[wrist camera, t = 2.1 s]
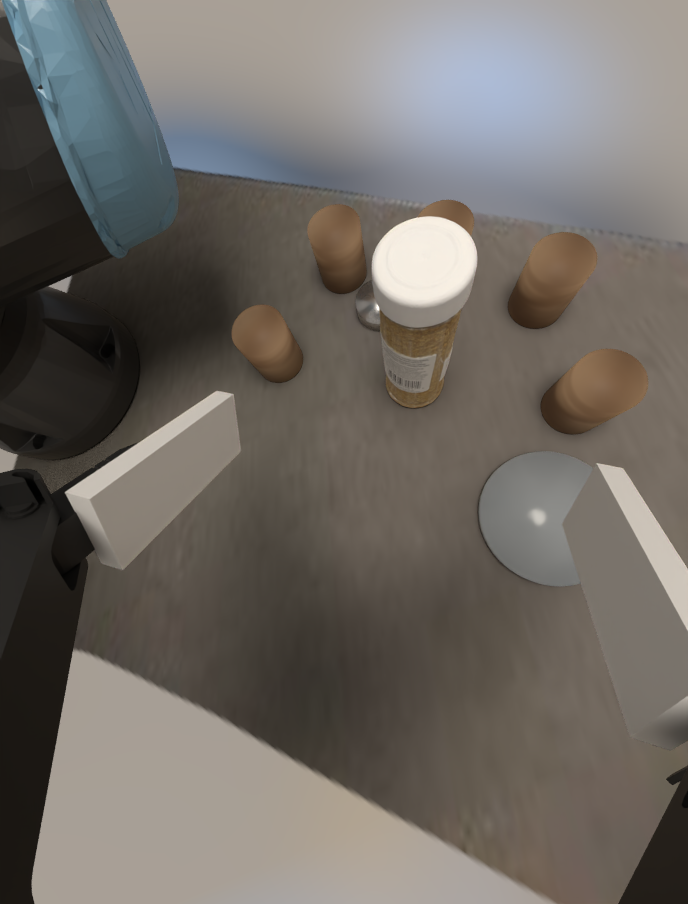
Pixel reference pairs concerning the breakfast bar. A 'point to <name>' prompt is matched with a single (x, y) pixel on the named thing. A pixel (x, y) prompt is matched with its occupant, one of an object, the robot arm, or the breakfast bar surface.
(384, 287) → the sprinkles bottle
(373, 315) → the silver rounded piece
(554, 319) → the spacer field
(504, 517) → the coaster
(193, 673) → the breakfast bar surface
